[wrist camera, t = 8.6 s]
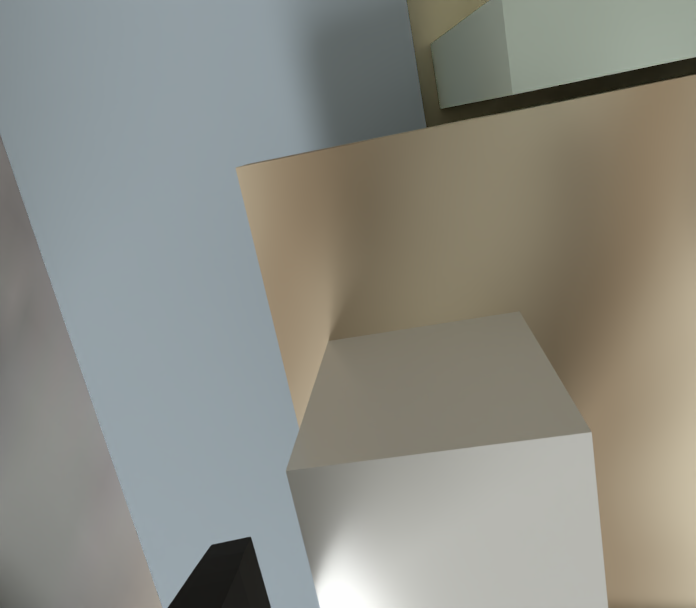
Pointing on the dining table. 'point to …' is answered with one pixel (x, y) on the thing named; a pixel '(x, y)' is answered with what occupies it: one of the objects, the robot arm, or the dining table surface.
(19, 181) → the mat
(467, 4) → the dining table surface
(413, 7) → the dining table surface
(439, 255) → the flap
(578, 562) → the light grey block
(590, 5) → the flap stand
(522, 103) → the dining table surface
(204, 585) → the robot arm
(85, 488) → the dining table surface
